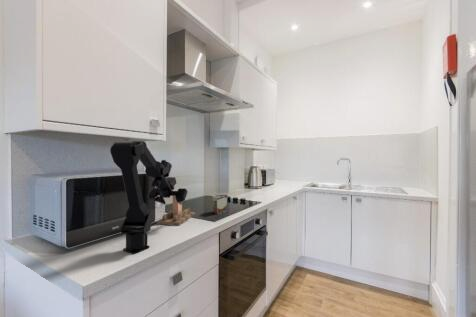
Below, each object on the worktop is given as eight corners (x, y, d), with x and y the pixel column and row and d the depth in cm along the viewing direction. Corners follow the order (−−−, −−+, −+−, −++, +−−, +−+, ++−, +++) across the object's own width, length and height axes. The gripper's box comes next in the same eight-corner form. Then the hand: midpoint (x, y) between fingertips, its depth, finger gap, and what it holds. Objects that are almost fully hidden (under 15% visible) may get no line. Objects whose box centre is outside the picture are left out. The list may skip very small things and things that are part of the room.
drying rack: (179, 225, 108) (179, 217, 108) (157, 224, 110) (157, 216, 110) (194, 214, 128) (194, 208, 128) (175, 214, 130) (175, 207, 130)
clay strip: (178, 217, 116) (177, 193, 116) (172, 217, 117) (172, 193, 117) (181, 215, 121) (181, 191, 121) (176, 215, 122) (176, 191, 122)
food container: (219, 209, 142) (219, 193, 142) (227, 210, 139) (227, 194, 139) (207, 213, 131) (207, 196, 131) (216, 214, 128) (216, 197, 128)
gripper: (186, 172, 108) (194, 191, 119) (151, 172, 111) (162, 190, 122) (179, 190, 100) (188, 209, 111) (141, 189, 103) (154, 208, 114)
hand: (173, 203), depth 114 cm, fingers open, 9 cm apart
